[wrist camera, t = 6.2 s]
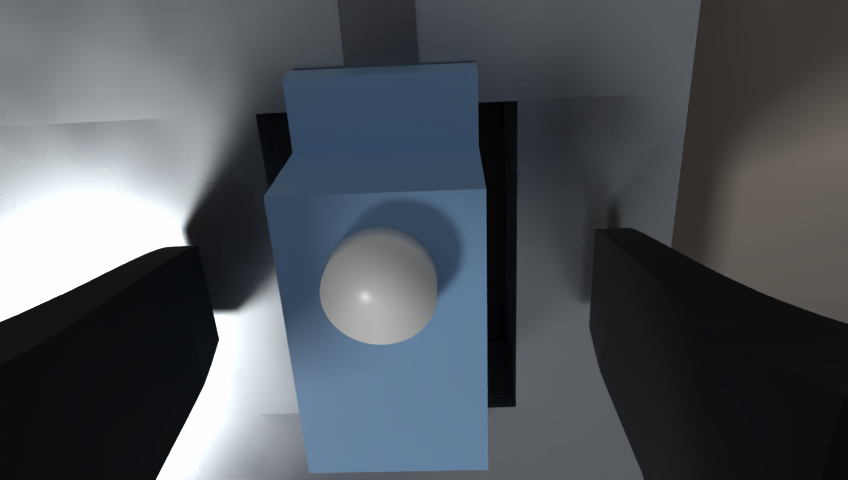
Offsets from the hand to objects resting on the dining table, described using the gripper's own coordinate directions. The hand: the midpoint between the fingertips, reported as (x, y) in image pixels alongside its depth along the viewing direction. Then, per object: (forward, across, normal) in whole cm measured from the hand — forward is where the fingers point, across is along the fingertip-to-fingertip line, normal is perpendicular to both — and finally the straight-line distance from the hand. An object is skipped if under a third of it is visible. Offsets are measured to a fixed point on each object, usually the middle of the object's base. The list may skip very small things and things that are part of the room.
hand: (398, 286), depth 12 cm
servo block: (+3, 0, 0) cm, 3 cm away
